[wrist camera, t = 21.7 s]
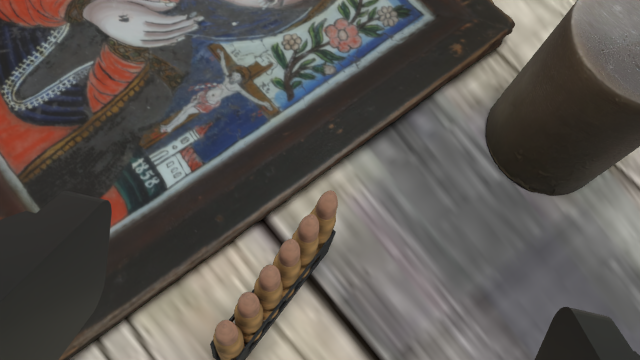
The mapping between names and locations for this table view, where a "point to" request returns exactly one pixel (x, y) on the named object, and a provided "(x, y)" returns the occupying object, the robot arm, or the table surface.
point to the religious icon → (207, 112)
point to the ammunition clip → (277, 283)
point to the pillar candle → (572, 101)
